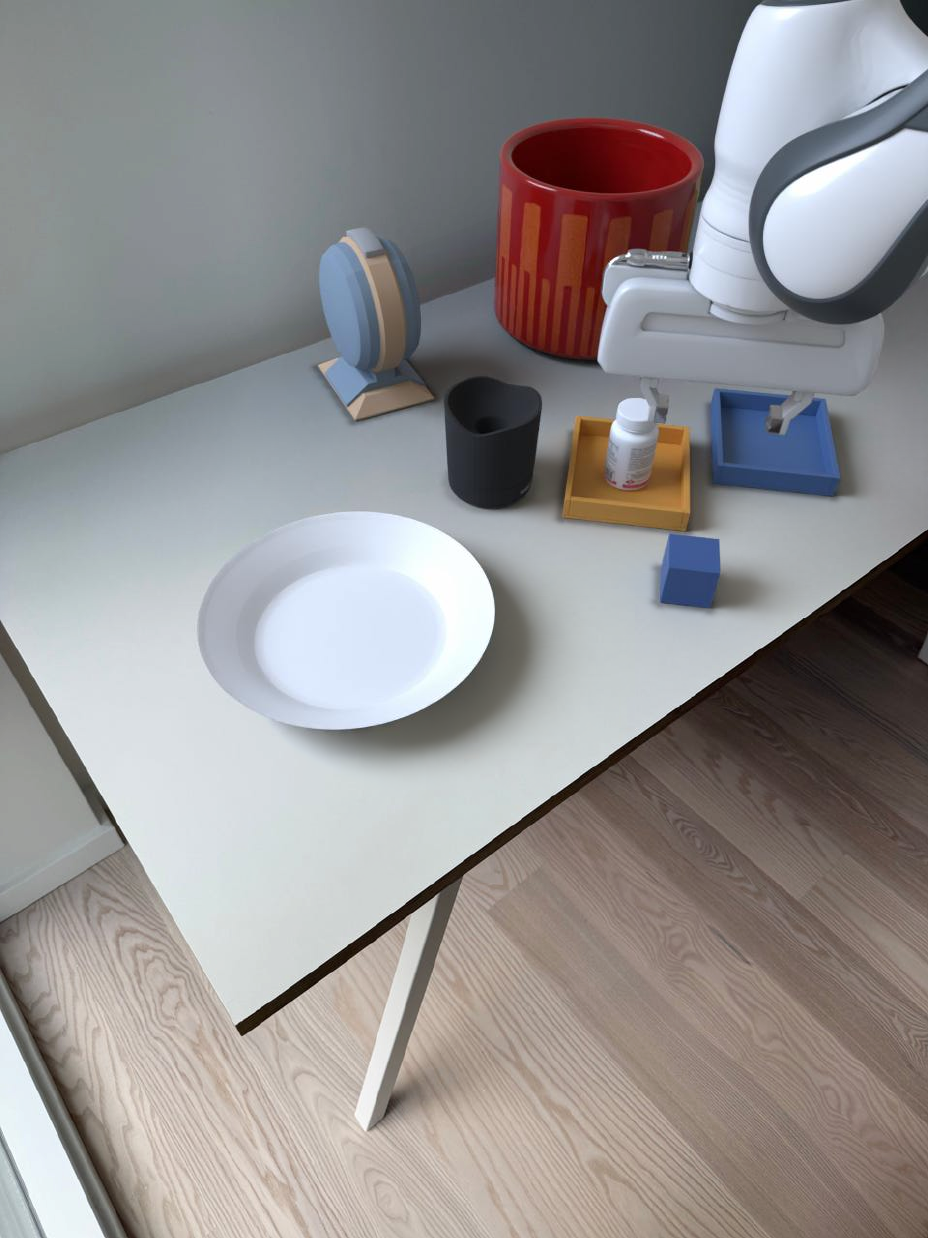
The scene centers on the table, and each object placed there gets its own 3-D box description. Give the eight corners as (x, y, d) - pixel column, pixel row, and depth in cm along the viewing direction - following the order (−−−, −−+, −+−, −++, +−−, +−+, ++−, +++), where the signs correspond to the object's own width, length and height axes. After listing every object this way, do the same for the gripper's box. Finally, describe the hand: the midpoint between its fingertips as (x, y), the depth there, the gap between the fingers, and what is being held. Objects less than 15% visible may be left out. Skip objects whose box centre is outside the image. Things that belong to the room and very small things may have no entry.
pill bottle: (655, 470, 94) (669, 402, 87) (641, 497, 91) (655, 428, 84) (611, 458, 95) (622, 390, 89) (597, 484, 92) (607, 415, 86)
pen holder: (468, 523, 88) (469, 440, 81) (430, 469, 94) (428, 387, 87) (551, 497, 91) (560, 415, 84) (509, 446, 97) (514, 365, 89)
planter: (556, 387, 105) (574, 213, 90) (461, 300, 118) (462, 136, 103) (709, 337, 112) (749, 169, 97) (603, 261, 126) (624, 103, 111)
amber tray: (685, 445, 97) (689, 426, 95) (685, 531, 88) (690, 513, 86) (573, 433, 99) (576, 415, 97) (562, 517, 89) (564, 498, 87)
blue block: (709, 574, 84) (719, 538, 81) (710, 608, 81) (720, 573, 78) (660, 568, 84) (669, 533, 81) (659, 602, 81) (668, 567, 78)
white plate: (147, 643, 78) (136, 616, 75) (356, 504, 90) (353, 476, 88) (344, 814, 66) (339, 788, 64) (551, 628, 79) (554, 600, 76)
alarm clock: (438, 404, 102) (435, 253, 89) (358, 425, 99) (344, 273, 86) (389, 344, 111) (381, 198, 98) (315, 362, 108) (296, 215, 95)
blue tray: (819, 416, 101) (825, 398, 99) (833, 496, 92) (840, 478, 90) (710, 405, 102) (714, 387, 100) (712, 483, 93) (717, 465, 91)
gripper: (603, 267, 61) (583, 434, 71) (915, 292, 59) (847, 461, 69) (609, 227, 65) (589, 390, 75) (899, 249, 63) (838, 414, 73)
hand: (714, 424), depth 72 cm, fingers open, 8 cm apart
